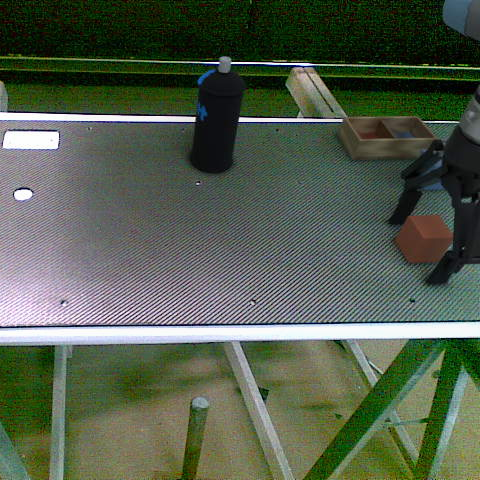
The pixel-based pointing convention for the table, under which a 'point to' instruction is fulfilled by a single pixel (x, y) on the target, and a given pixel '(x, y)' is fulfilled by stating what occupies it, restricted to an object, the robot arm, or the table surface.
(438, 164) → the blue block
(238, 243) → the table surface
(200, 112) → the aerosol can
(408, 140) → the tray
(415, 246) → the terracotta block
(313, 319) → the table surface
